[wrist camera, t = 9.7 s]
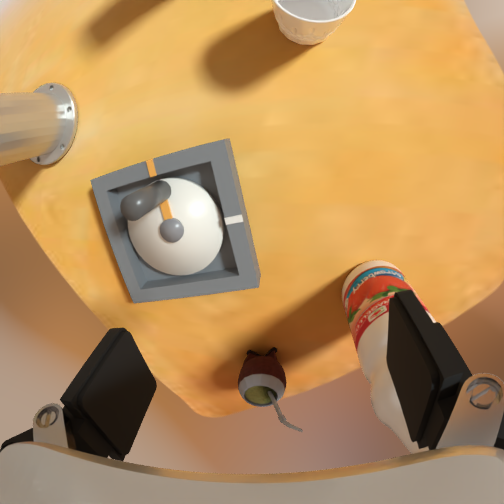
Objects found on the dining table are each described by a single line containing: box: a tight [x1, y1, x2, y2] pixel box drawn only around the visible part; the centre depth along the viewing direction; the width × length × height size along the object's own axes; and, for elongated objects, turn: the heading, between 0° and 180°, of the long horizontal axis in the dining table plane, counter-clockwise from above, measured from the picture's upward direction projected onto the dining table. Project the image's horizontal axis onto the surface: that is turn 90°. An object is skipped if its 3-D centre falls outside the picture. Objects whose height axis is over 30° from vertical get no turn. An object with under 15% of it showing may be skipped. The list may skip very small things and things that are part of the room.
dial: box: [120, 177, 225, 275], centre depth 33 cm, size 13×13×9 cm
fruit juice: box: [342, 260, 436, 454], centre depth 27 cm, size 9×9×28 cm
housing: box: [90, 139, 261, 303], centre depth 37 cm, size 18×18×4 cm
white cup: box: [271, 0, 356, 45], centre depth 23 cm, size 8×8×10 cm
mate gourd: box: [238, 347, 302, 432], centre depth 39 cm, size 8×8×15 cm
